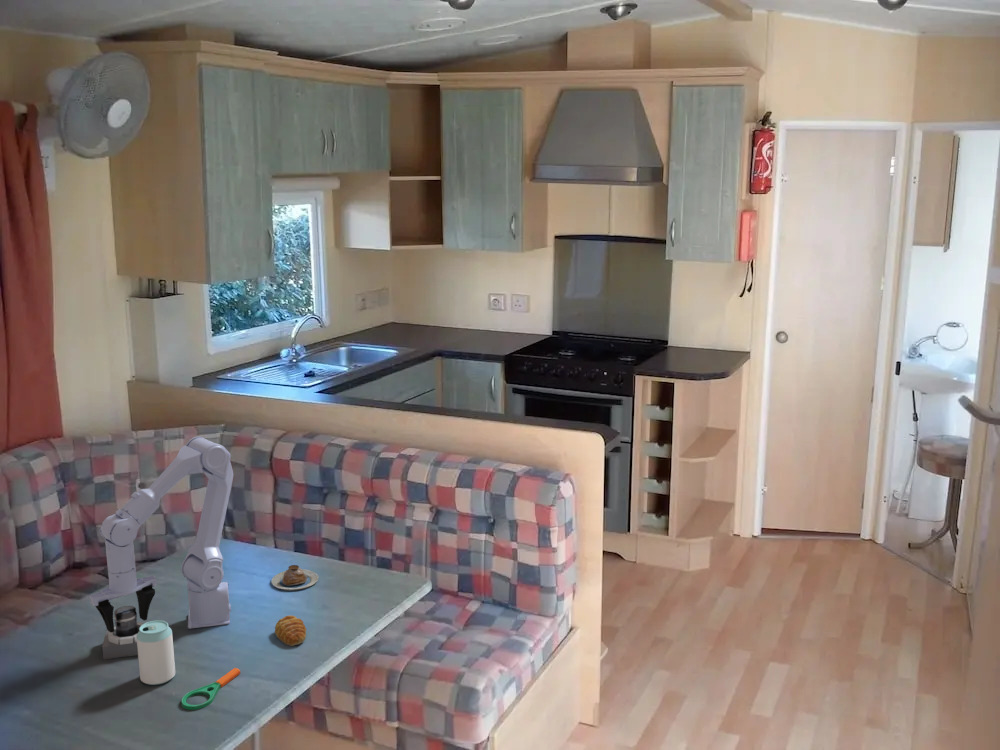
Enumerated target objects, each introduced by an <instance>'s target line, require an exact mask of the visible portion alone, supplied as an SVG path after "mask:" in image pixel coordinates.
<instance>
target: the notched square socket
mask: <svg viewBox="0 0 1000 750" xmlns="http://www.w3.org/2000/svg"><path fill="white" fill-rule="evenodd" d="M143 624H144V622H140V621H137V628H138V632H139V628H140V626H141V625H143ZM137 634H138V633H137ZM137 634H135V635H133V636H128V637H118V636H116V625H114V632H112V633H111V632H109V631H108V630H107V629H106V630H105V634H104V638H103V642H102V647H101V648H102V656H103V660H108V659H116V658H122V657H123V658H125V657H131V656H138V648H137Z"/></svg>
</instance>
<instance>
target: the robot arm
mask: <svg viewBox="0 0 1000 750" xmlns="http://www.w3.org/2000/svg"><path fill="white" fill-rule="evenodd" d="M231 457H232V454H231V453H230V451H228V449H227V448H225V446H224V445H222V444H219V443H215V442H214V441H211V440H209V439H206V438H205V437H203V436H193V437H192V438H190V439H189V440H188V441H187V443H186V444H185V445H183V446H182V447H180V449H179V451H178V453H177V456H176V457H175V458H174V459H173V461H171V463H170V464H169V465H168V466H167V467H166V468H165V469H164V470H163V472H161V474H160V475H159V476H158V477H157V478H156V479H155V480H154V482H152V484H150V486H149V487H148V488H142V489H139V490H138V491H134V492H133V493H132V494H131V496H130V499H128V501H127V502H126V503H124V505H123V506H122V507H121V508H120V509H117V510H116V511H115V512H114V513H113V514H112V515H109V516H107V517H105V518H104V520H103V521H102V522H101V526H100V528H99V529H98V531H99V534H100V536H101V537H102V538H103V539H104V541H105V542H104V543H105V553H106V563H107V572H108V573H107V575H108V583H109V584H108V585H109V586H108V587H106V588H103V589H102V590H100V591H98V592H96V593H94V594H92V595H89V604H90V605H91V606H93V607H94V608H96V610H97V611H98V613H99V614H100V616H101V617H102V620H103V622H104V624H105V628H106V630H108V631H109V632H111V633H112V632H114V627H115V625H114V624H115V622H114V611H115V610H114V609H115V607H114V606H113V605H111V602H110V601H112V600H114V599H118V598H121V597H124V596H125V597H126V596H129V595H131V594H134V593H135V594H136V598H137V603H138V615H139V619H140V620H142V621H147V620H148V614H149V609H150V606H151V604H152V601H153V599H154V597H155V595H156V589H155V588H154V587H157V586H158V580H157V577H156V576H154V575H150V576H145V577H141V578H139V577H138V578H137V569H136V567H137V565H136V557H135V547H134V541H135V540H136V538H137V536H138V531H139V529H140V528H141V526H142V525H144V524H145V522H146V521H147V520H148V519H149V518H150V517H151V516H152V515H153V514H154V513H155V512H157V510H158V509H159V508H160V506H161V505H160V503H161V502H160V501H161V499H162V497H163V496H165V495H166V494H167V493H168V492H169V491H171V490H172V489H173V487H175V486H176V485H177V484H178V483H179V482H180V481H181V480H183V479H184V478H185V477H186V476H187V475H193V474H194V475H196V474H202V473H204V475H205V476H206V478H207V479H208V480H207V486H206V491H205V493H204V494H205V495H204V499H203V504H202V509H201V515H200V519H199V524H198V530H197V533H196V537H195V543H194V544H193V545H191V546H190V547H189V548H188V550H187V554H186V556H185V558H184V559H183V561H182V563H181V567H180V570H181V571H180V572H181V574H182V576H184V578H185V579H186V584H187V585H186V586H187V599H188V609H189V610H188V618H187V629H188V630H189V629H191V630H192V629H197V628H198V629H199V628H207V627H213V626H223V625H229V624H230V623H231V618H230V617H231V612H232V608H231V607H232V605H231V603H230V598H229V584H228V582H227V581H223V579H224V577H225V576H224V575H225V573H224V568H223V562H224V556H223V555H222V553H221V550H220V544H221V543H220V542H221V540H222V533H223V529H224V524H225V520H226V516H227V509H228V505H229V499H230V495H231V491H232V485H233V480H234V471H233V467H232V463H231Z"/></svg>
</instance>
